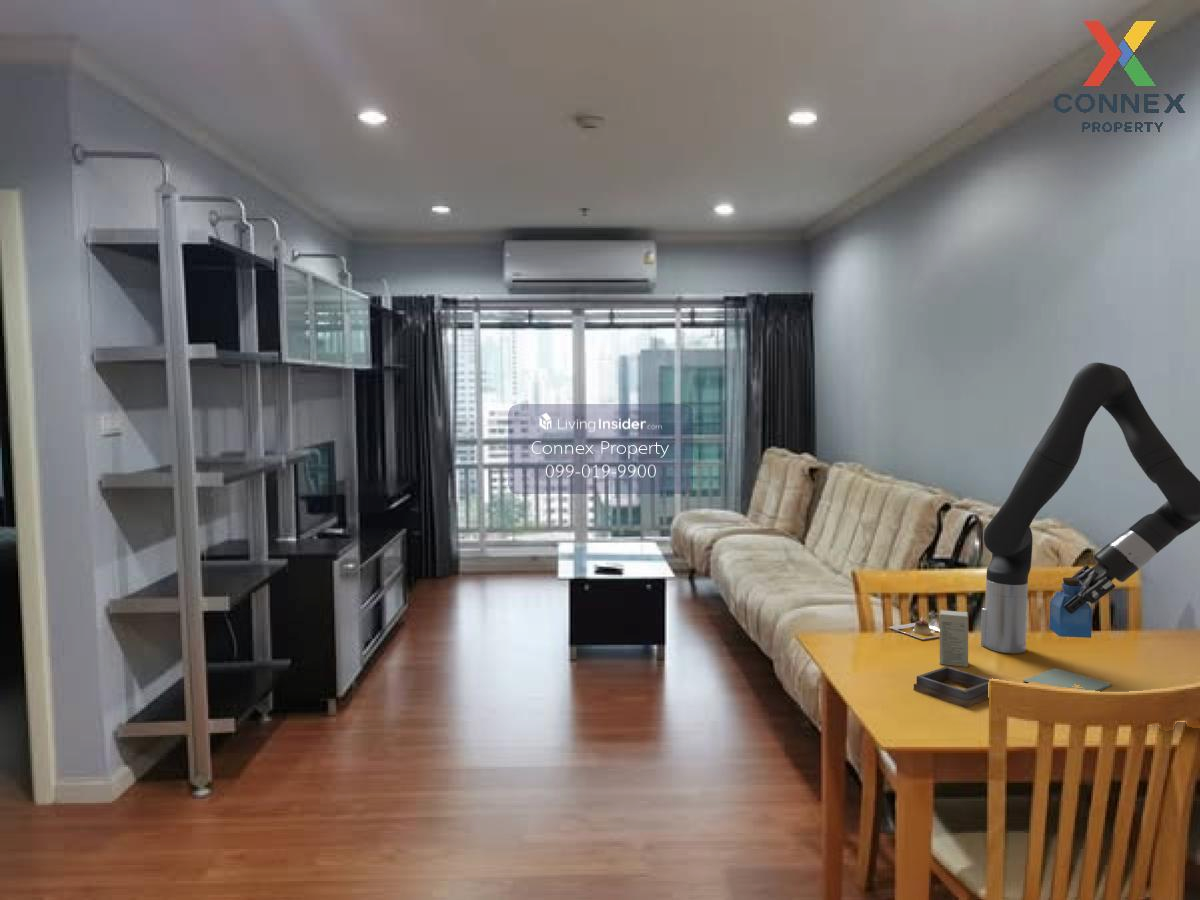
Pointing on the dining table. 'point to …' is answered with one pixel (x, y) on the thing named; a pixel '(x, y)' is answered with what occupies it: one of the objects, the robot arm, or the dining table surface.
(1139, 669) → the dining table surface
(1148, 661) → the dining table surface
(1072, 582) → the perfume bottle
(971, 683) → the shallow navy tray
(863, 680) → the dining table surface
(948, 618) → the skincare box
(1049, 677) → the mat
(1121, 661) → the dining table surface
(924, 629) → the dessert
